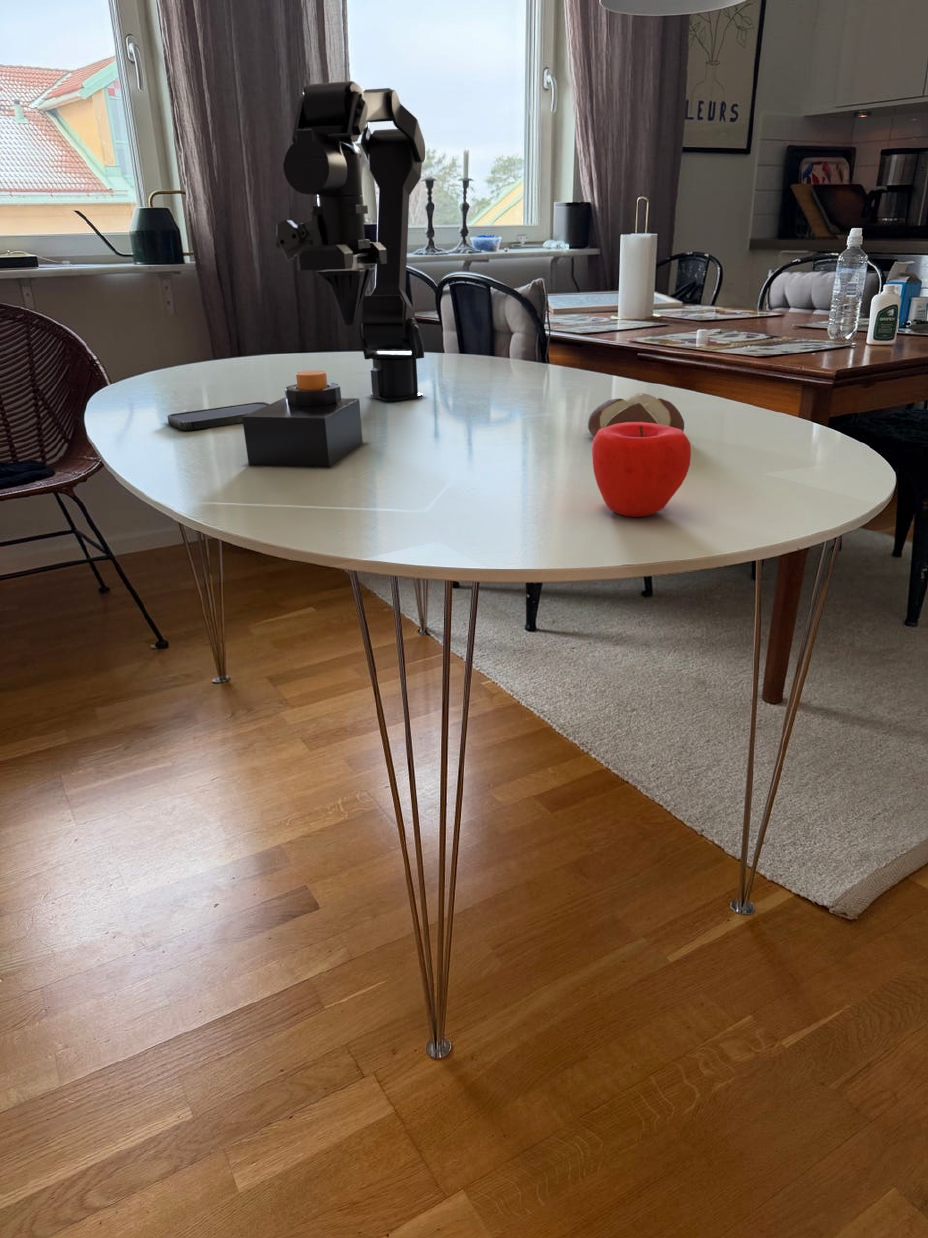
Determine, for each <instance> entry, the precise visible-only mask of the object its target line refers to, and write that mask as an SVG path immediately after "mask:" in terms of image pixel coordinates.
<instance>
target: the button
mask: <svg viewBox="0 0 928 1238" xmlns="http://www.w3.org/2000/svg"><path fill="white" fill-rule="evenodd" d="M295 378H296V384H297V388H298V389H300V390H313V389H323V388H327V382H328V379H327V378H328V377H327V371H324V370H305V371H299V372H296V373H295Z"/></svg>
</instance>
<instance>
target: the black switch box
mask: <svg viewBox="0 0 928 1238" xmlns="http://www.w3.org/2000/svg"><path fill="white" fill-rule="evenodd" d="M284 395H285V397H283V398H281V399H279V400H278V399H277V400H276V401H273V402H271V403H269V405H267V406H265V407H263V408H261V409H258V410H256V411H254V412H252V413H250V414H247V415H245V416H243V417H242V419H243V422H242V427H243V433H244V440H245V446H246V447H245V448H246V455H247V456H246V457H247V464H248V466H250V467H251V466H252V467H284V468H285V467H286V468H315V469H316V468H317V469H319V468H320V469H321V468H323V469H330V468H331V467H333V466H334V465H336V464H337V463H338V462H340V461H341V460H342V459H344V458H345V457H347V456H348V455H349V454H351V453H352V452H354V451H355V450H357V449H358V448H360V446H362V445H363V444H364V441H363V431H362V430H363V429H362V419H361V418H362V417H361V405H360V398H357V397H356V398H350V397H349V398H348V397H347V398H346V397H345V398H344V397H342V392H341V385H340V384H339V383H335V382H329V381H327V388H323V389H313V390H300V389H298V388H297V383H296V384H291V385H288V386H286V387H284Z"/></svg>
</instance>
